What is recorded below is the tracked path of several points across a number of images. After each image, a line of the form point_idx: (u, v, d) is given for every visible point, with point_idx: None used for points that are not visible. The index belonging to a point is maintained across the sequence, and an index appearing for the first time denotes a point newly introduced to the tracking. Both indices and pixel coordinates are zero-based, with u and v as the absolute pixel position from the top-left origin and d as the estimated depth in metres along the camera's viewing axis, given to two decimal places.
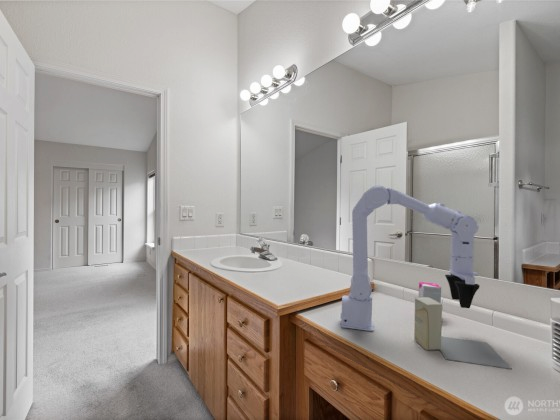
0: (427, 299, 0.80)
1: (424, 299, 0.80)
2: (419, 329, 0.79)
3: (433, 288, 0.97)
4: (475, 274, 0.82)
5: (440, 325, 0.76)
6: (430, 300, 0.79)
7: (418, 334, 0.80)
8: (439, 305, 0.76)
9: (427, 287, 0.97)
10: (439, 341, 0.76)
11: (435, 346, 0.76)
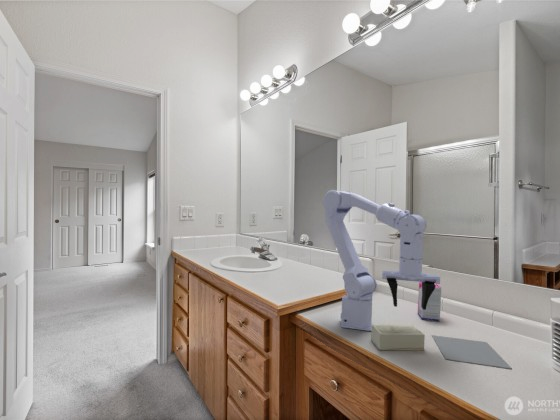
0: (374, 333, 0.79)
1: (374, 338, 0.79)
2: None
3: None
4: (408, 277, 0.77)
5: (401, 336, 0.76)
6: (375, 333, 0.78)
7: None
8: (381, 337, 0.75)
9: None
10: (416, 337, 0.76)
11: (421, 340, 0.76)
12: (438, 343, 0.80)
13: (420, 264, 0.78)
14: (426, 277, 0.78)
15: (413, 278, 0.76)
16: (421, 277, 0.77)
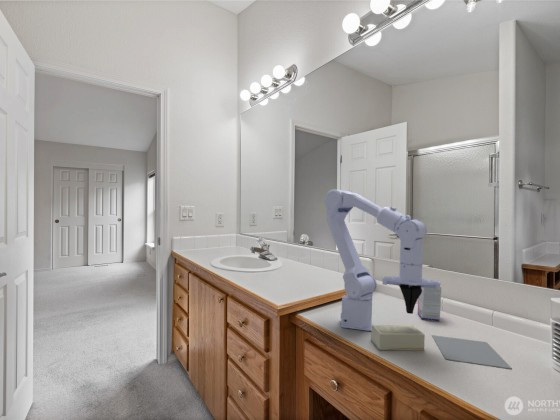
0: (374, 333, 0.79)
1: (374, 338, 0.79)
2: None
3: (433, 288, 0.97)
4: (408, 282, 0.77)
5: (401, 336, 0.76)
6: (375, 333, 0.78)
7: None
8: (381, 337, 0.75)
9: None
10: (416, 337, 0.76)
11: (421, 340, 0.76)
12: (438, 343, 0.80)
13: (420, 270, 0.78)
14: (426, 283, 0.77)
15: (413, 284, 0.76)
16: (421, 283, 0.77)
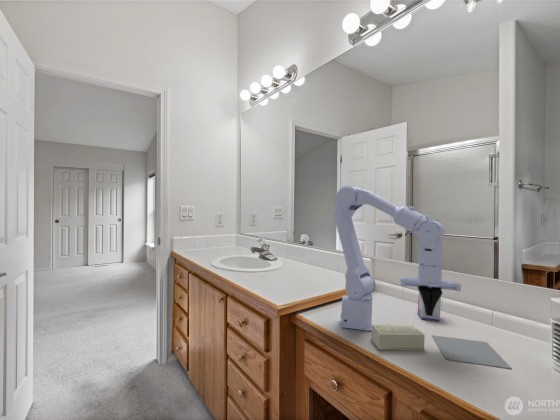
0: (374, 333, 0.79)
1: (374, 338, 0.79)
2: None
3: None
4: (428, 284, 0.76)
5: (401, 336, 0.76)
6: (375, 333, 0.78)
7: None
8: (381, 337, 0.75)
9: None
10: (416, 337, 0.76)
11: (421, 340, 0.76)
12: (438, 343, 0.80)
13: (440, 271, 0.77)
14: (446, 284, 0.76)
15: (433, 285, 0.75)
16: (441, 284, 0.76)
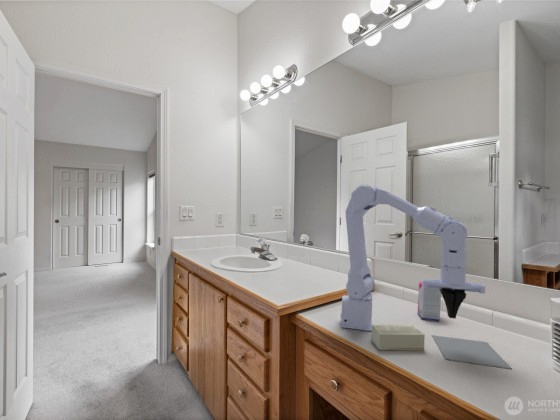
0: (374, 333, 0.79)
1: (374, 338, 0.79)
2: None
3: (433, 288, 0.97)
4: (451, 286, 0.75)
5: (401, 336, 0.76)
6: (375, 333, 0.78)
7: None
8: (381, 337, 0.75)
9: None
10: (416, 337, 0.76)
11: (421, 340, 0.76)
12: (438, 343, 0.80)
13: (464, 273, 0.75)
14: (471, 286, 0.75)
15: (458, 287, 0.74)
16: (465, 286, 0.75)
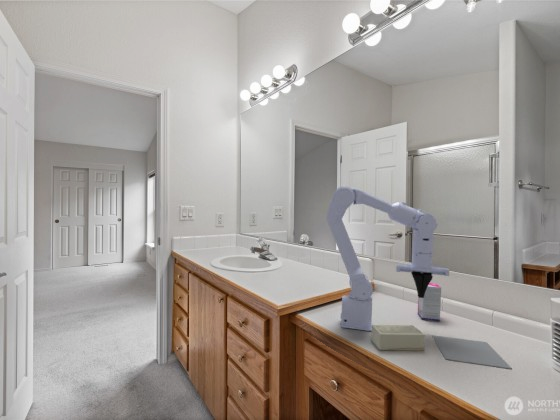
0: (374, 333, 0.79)
1: (374, 338, 0.79)
2: None
3: (433, 288, 0.97)
4: (419, 269, 0.86)
5: (401, 336, 0.76)
6: (375, 333, 0.78)
7: None
8: (381, 337, 0.75)
9: (427, 287, 0.97)
10: (416, 337, 0.76)
11: (421, 340, 0.76)
12: (438, 343, 0.80)
13: (431, 258, 0.86)
14: (436, 270, 0.86)
15: (425, 270, 0.85)
16: (432, 270, 0.86)
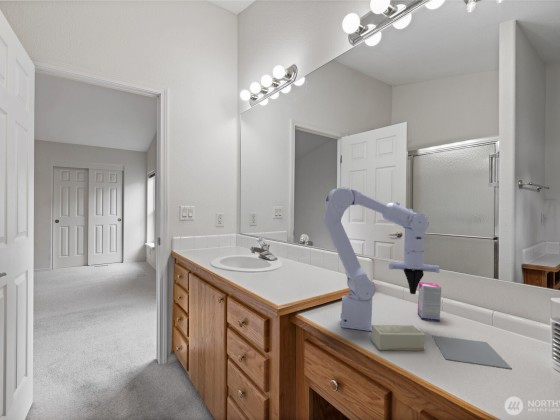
0: (374, 333, 0.79)
1: (374, 338, 0.79)
2: None
3: (433, 288, 0.97)
4: (411, 266, 0.89)
5: (401, 336, 0.76)
6: (375, 333, 0.78)
7: None
8: (381, 337, 0.75)
9: (427, 287, 0.97)
10: (416, 337, 0.76)
11: (421, 340, 0.76)
12: (438, 343, 0.80)
13: (422, 255, 0.90)
14: (427, 267, 0.89)
15: (416, 267, 0.88)
16: (423, 267, 0.89)
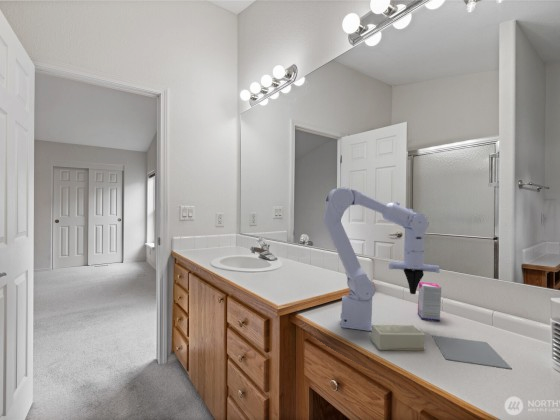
0: (374, 333, 0.79)
1: (374, 338, 0.79)
2: None
3: (433, 288, 0.97)
4: (411, 266, 0.89)
5: (401, 336, 0.76)
6: (375, 333, 0.78)
7: None
8: (381, 337, 0.75)
9: (427, 287, 0.97)
10: (416, 337, 0.76)
11: (421, 340, 0.76)
12: (438, 343, 0.80)
13: (422, 255, 0.90)
14: (427, 267, 0.89)
15: (416, 267, 0.88)
16: (423, 267, 0.89)
